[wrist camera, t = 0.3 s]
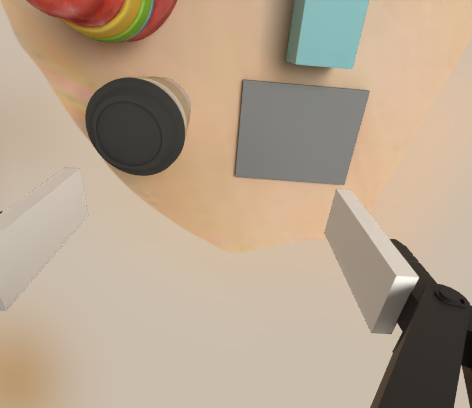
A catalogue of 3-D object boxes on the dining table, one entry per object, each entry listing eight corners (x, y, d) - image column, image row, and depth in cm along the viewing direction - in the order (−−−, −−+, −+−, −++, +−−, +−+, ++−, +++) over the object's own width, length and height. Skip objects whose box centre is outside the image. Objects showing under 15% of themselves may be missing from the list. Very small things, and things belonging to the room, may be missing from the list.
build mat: (243, 79, 38) (243, 80, 37) (367, 90, 38) (369, 91, 38) (235, 174, 44) (235, 176, 43) (342, 182, 45) (344, 184, 44)
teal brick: (298, -30, 33) (312, -47, 27) (352, -24, 33) (378, -41, 27) (285, 61, 37) (295, 64, 31) (333, 65, 37) (352, 69, 31)
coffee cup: (164, 51, 36) (123, 54, 23) (213, 110, 40) (202, 143, 26) (115, 100, 39) (54, 129, 26) (165, 152, 42) (133, 201, 29)
